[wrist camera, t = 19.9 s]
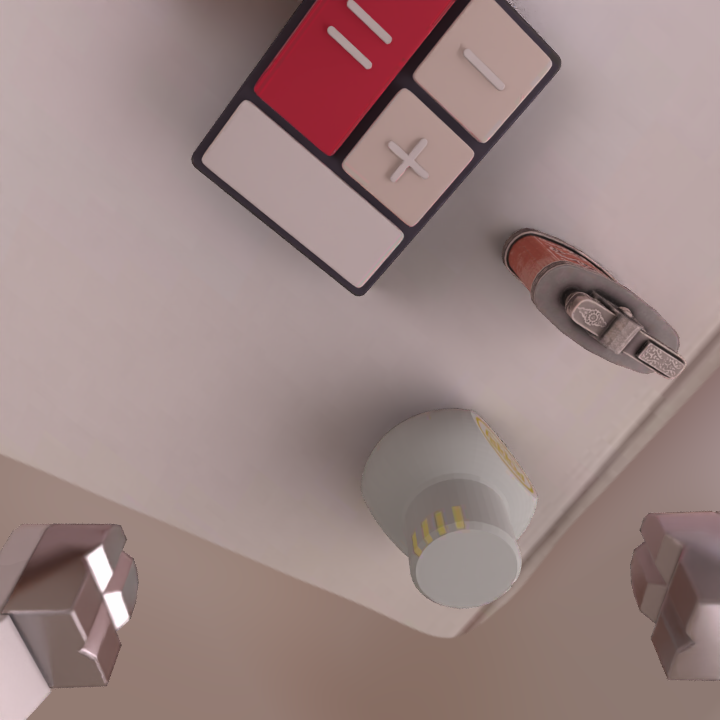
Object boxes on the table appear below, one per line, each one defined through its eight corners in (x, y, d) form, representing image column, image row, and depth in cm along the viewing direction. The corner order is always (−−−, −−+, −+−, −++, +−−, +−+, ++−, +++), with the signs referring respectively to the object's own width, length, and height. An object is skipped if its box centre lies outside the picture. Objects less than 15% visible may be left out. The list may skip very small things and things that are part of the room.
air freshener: (342, 441, 42) (338, 544, 33) (446, 369, 40) (472, 458, 31) (440, 545, 45) (461, 664, 36) (540, 484, 43) (589, 594, 34)
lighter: (489, 264, 37) (532, 328, 28) (524, 214, 36) (581, 263, 27) (597, 332, 39) (670, 412, 30) (634, 286, 38) (723, 355, 29)
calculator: (572, 61, 29) (360, 305, 33) (543, 66, 33) (357, 283, 37) (392, -129, 26) (182, 163, 30) (384, -99, 30) (200, 155, 34)
